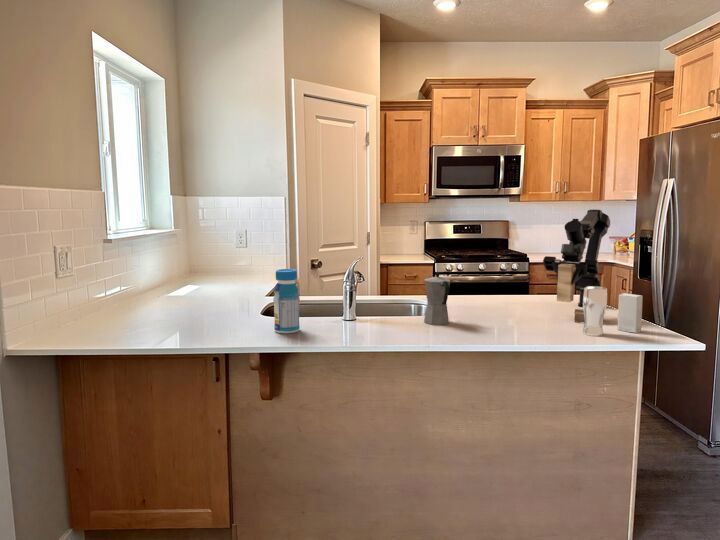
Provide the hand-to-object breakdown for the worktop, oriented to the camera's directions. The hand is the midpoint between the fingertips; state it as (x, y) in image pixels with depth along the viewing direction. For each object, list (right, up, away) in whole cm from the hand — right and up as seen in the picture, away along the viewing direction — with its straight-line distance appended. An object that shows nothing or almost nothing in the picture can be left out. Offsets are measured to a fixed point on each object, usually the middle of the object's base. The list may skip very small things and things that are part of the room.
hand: (564, 283), depth 182 cm
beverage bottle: (-97, -15, -16) cm, 100 cm away
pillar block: (+1, -6, +2) cm, 7 cm away
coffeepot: (-46, -14, -4) cm, 49 cm away
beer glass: (+1, -16, -19) cm, 25 cm away
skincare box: (+15, -16, -15) cm, 26 cm away
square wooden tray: (+8, -13, 0) cm, 16 cm away
